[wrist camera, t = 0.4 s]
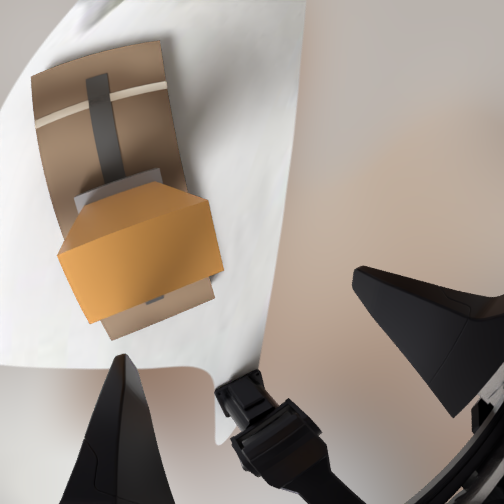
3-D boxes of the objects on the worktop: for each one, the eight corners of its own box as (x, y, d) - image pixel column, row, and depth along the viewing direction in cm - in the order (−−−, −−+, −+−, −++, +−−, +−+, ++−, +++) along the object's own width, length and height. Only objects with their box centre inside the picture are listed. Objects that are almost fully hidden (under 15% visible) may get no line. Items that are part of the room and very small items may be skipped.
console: (206, 288, 25) (215, 298, 24) (110, 328, 21) (111, 341, 20) (154, 49, 16) (160, 39, 14) (36, 83, 12) (30, 76, 10)
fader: (168, 220, 19) (240, 282, 10) (93, 248, 17) (87, 346, 8) (155, 167, 18) (218, 173, 8) (76, 195, 15) (34, 237, 6)
